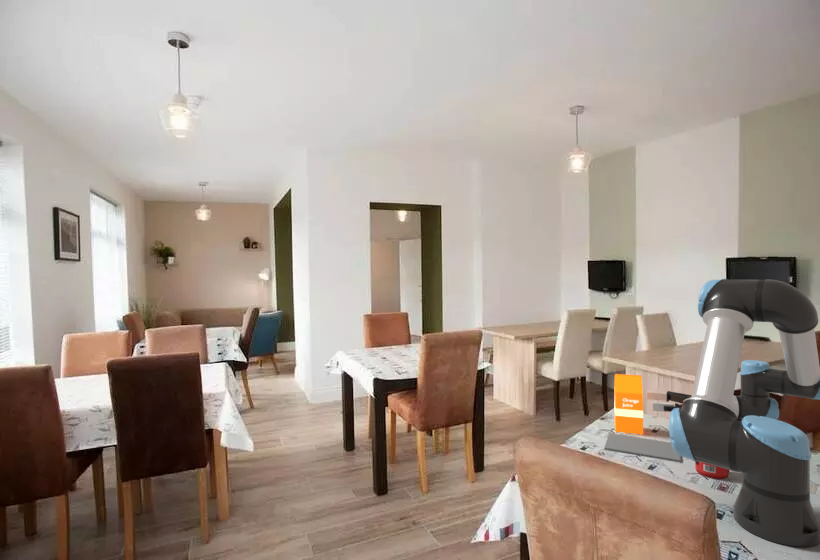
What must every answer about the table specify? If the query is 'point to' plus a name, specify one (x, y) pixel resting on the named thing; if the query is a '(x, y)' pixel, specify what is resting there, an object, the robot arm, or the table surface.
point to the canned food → (711, 470)
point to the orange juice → (628, 403)
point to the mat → (641, 447)
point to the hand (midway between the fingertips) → (649, 400)
